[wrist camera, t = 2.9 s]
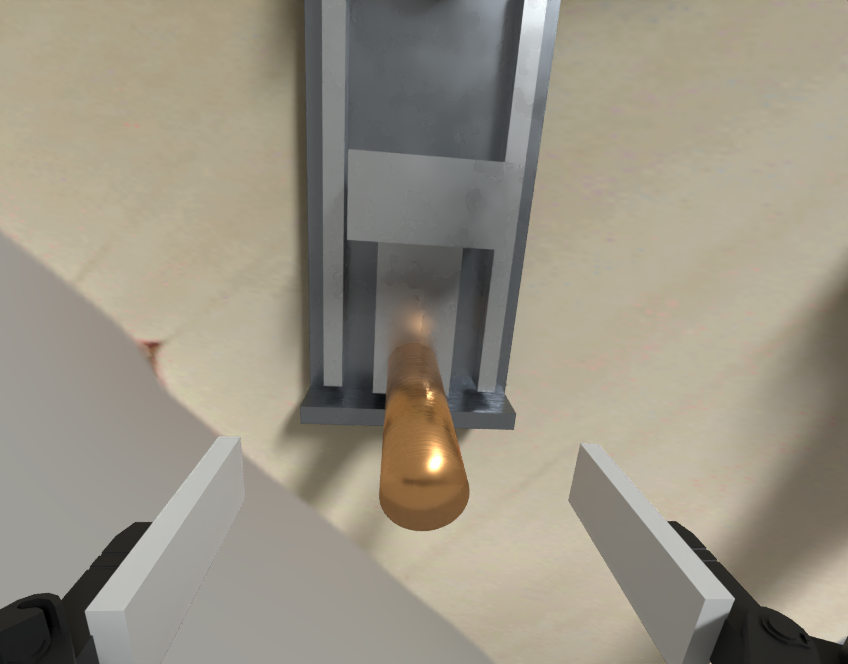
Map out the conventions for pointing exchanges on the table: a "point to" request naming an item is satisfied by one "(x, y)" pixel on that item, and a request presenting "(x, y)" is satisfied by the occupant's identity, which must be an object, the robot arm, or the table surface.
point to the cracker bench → (430, 136)
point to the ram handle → (421, 312)
